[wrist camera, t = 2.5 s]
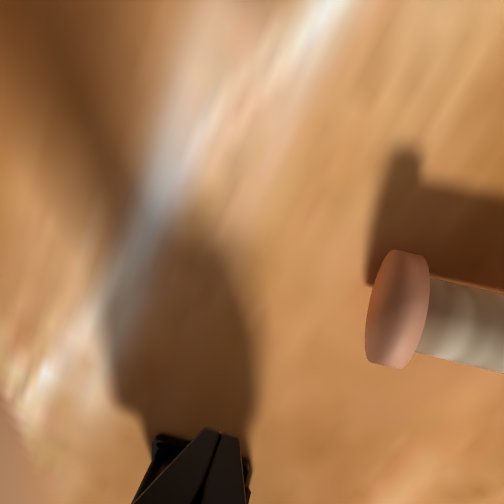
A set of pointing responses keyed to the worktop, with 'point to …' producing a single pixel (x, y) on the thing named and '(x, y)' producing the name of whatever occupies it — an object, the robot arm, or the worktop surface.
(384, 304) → the pin
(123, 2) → the worktop surface
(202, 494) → the robot arm
